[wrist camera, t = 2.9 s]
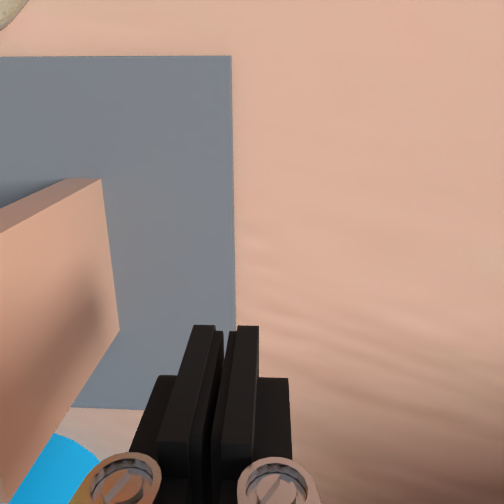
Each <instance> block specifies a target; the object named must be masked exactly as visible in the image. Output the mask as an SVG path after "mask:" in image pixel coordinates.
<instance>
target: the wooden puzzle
mask: <svg viewBox="0 0 504 504" xmlns="http://www.w3.org/2000/svg"><path fill="white" fill-rule="evenodd" d="M28 1H29V0H0V30H1V29H3V28H5V27H6V26H8V25H9V24H10V23H11V22H12V21H13V19H14V18H15V17H16V16H17V15H18V13H19V12H20V11H21V10H22V9H23V7H24V6H25V5H26V4H27V2H28Z"/></svg>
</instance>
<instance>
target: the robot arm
mask: <svg viewBox="0 0 504 504" xmlns="http://www.w3.org/2000/svg"><path fill="white" fill-rule="evenodd" d="M68 504H321V502H320V498H319V495H318V491H317V488H316V484H315V482H314V480H313V478H312V476H311V474H310V473H309V472H308V471H307V470H306V469H305V468H304V467H303V466H302V465H300V464H298V463H297V462H295V461H293V460H292V442H291V422H290V403H289V384H288V378H264V377H259V326H238V327H237V331H229V336H228V341H227V347H226V353H225V359H224V333H223V331H216V326H215V325H193V328H192V331H191V334H190V337H189V340H188V343H187V347H186V350H185V353H184V356H183V359H182V362H181V365H180V368H179V371H178V374H177V375H159V376H158V378H157V380H156V382H155V385H154V387H153V390H152V392H151V395H150V398H149V400H148V403H147V405H146V408H145V411H144V413H143V416H142V418H141V421H140V423H139V426H138V429H137V431H136V434H135V436H134V439H133V442H132V444H131V447H130V449H129V452H126V453H121V454H116V455H114V456H111V457H109V458H107V459H105V460H103V461H102V462H100V463H99V464H97V465H96V466H95V467H94V468H93V469H92V470H91V471H90V472H89V473H88V475H87V476H86V477H85V479H84V480H83V482H82V483H81V485H80V486H79V488H78V489H77V491H76V492H75V494H74V495H73V497H72V499H71V500H70V502H69V503H68Z"/></svg>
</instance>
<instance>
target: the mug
mask: <svg viewBox="0 0 504 504" xmlns="http://www.w3.org/2000/svg"><path fill="white" fill-rule="evenodd" d="M99 463H100V462H99V460H98V459H97V458H96V457H95V456H94V455H93V454H92V453H91V452H89V451H88V450H86V449H85V448H83V447H82V446H81V445H79V444H78V443H76V442H75V441H73V440H70V439H68V438H65V437H63V436H60V435H58V434H55V433H53V435H52V436H51V438H50V439H49V441H48V443H47V444H46V446H45V447H44V449H43V450H42V452H41V453H40V455H39V456H38V458H37V460H36V461H35V463H34V464H33V466H32V467H31V469H30V470H29V472H28V474H27V475H26V477H25V478H24V480H23V481H22V483H21V484H20V486H19V488H18V489H17V491H16V492H15V494H14V495H13V497H12V498H11V500H10V502H9V503H8V504H68V503H69V502H70V500H71V499H72V497H73V495H74V494H75V492H76V491H77V489H78V488H79V486H80V485H81V483H82V482H83V480H84V479H85V477H86V476H87V475H88V473H89V472H90V471H91V470H92V469H93V468H94V467H95V466H96V465H97V464H99ZM0 504H3V503H0Z"/></svg>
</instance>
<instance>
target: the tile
mask: <svg viewBox="0 0 504 504" xmlns="http://www.w3.org/2000/svg"><path fill="white" fill-rule="evenodd" d="M119 331H120V328H119V320H118V312H117V303H116V295H115V287H114V279H113V271H112V263H111V255H110V247H109V239H108V231H107V223H106V215H105V207H104V199H103V190H102V182H101V179H99V178H66V179H64V180H62V181H60V182H58V183H55V184H53V185H51V186H49V187H47V188H44V189H42V190H40V191H38V192H36V193H33V194H31V195H29V196H27V197H25V198H22V199H20V200H18V201H16V202H14V203H11V204H9V205H7V206H5V207H3V208H1V209H0V503H3V504H8V503H9V502H10V500H11V498H12V497H13V495H14V494H15V492H16V491H17V489H18V488H19V486H20V484H21V483H22V481H23V480H24V478H25V477H26V475H27V474H28V472H29V470H30V469H31V467H32V466H33V464H34V463H35V461H36V460H37V458H38V456H39V455H40V453H41V452H42V450H43V449H44V447H45V446H46V444H47V443H48V441H49V439H50V438H51V436H52V435H53V433H54V432H55V430H56V429H57V427H58V425H59V424H60V422H61V421H62V419H63V418H64V416H65V415H66V413H67V411H68V410H69V408H70V407H71V405H72V404H73V402H74V401H75V399H76V397H77V396H78V394H79V393H80V391H81V390H82V388H83V387H84V385H85V383H86V382H87V380H88V379H89V377H90V376H91V374H92V373H93V371H94V370H95V368H96V366H97V365H98V363H99V362H100V360H101V359H102V357H103V356H104V354H105V352H106V351H107V349H108V348H109V346H110V345H111V343H112V342H113V340H114V338H115V337H116V335H117V334H118V332H119Z"/></svg>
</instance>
